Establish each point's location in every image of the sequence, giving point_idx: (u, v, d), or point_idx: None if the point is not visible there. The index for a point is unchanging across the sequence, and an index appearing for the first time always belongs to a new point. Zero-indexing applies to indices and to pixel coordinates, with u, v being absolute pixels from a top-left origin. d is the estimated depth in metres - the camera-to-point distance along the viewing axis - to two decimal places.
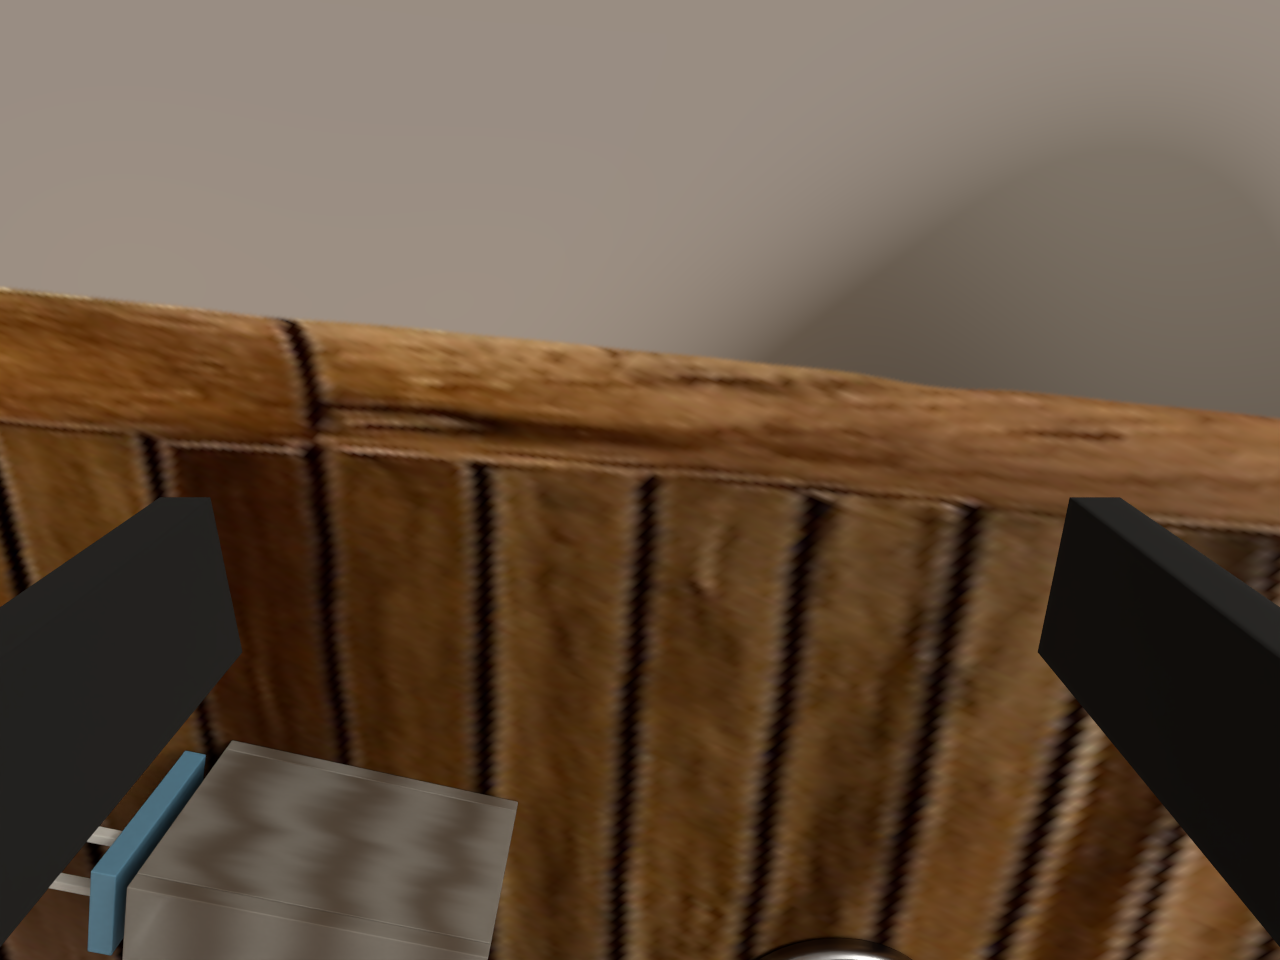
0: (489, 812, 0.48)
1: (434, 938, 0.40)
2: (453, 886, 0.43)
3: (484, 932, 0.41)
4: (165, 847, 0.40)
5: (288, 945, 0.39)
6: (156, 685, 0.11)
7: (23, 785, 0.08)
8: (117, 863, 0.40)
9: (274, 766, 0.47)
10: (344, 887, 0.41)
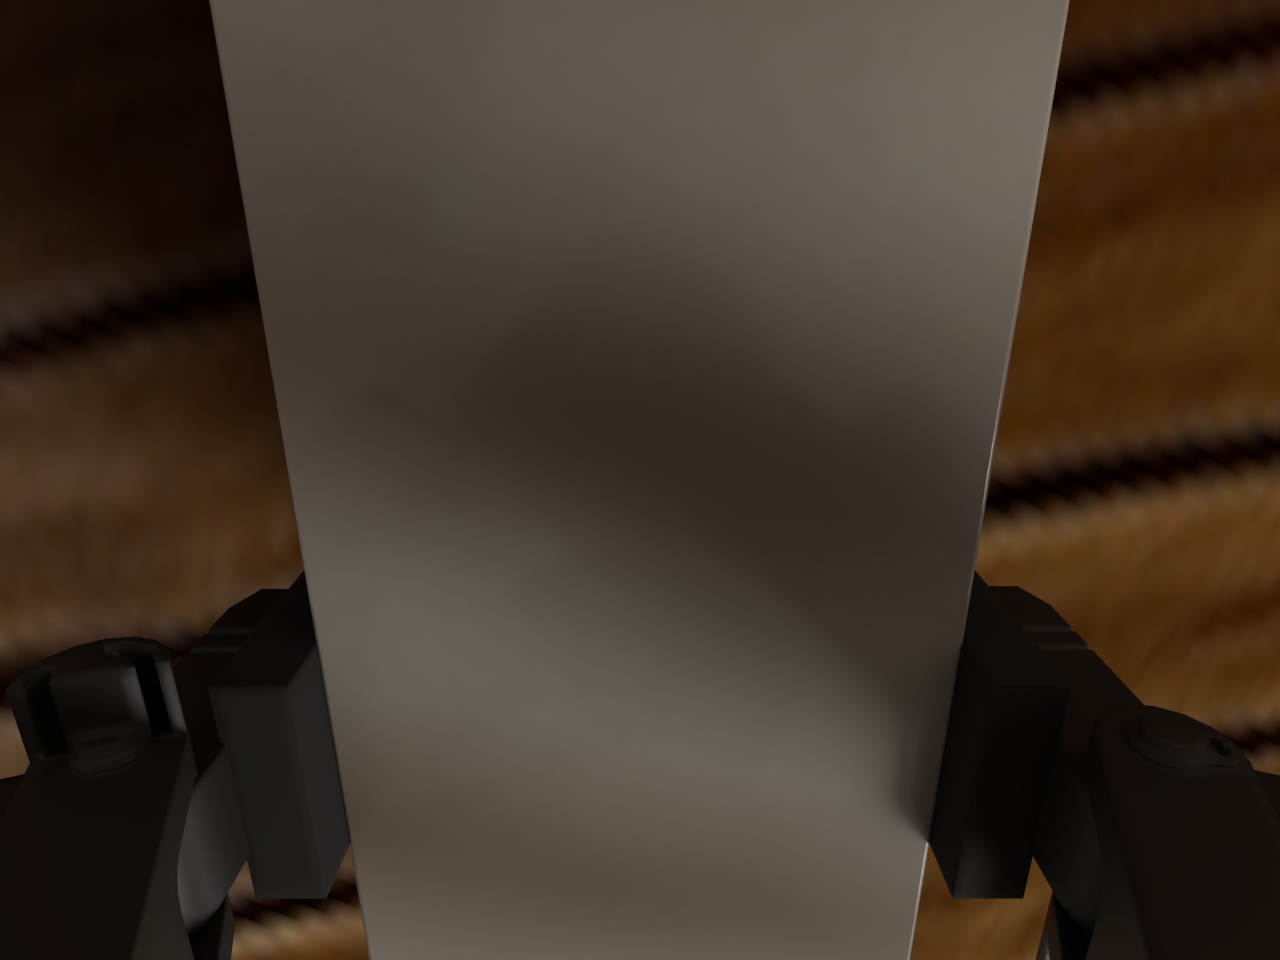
0: None
1: None
2: None
3: None
4: None
5: (828, 280, 0.07)
6: None
7: None
8: None
9: None
10: None
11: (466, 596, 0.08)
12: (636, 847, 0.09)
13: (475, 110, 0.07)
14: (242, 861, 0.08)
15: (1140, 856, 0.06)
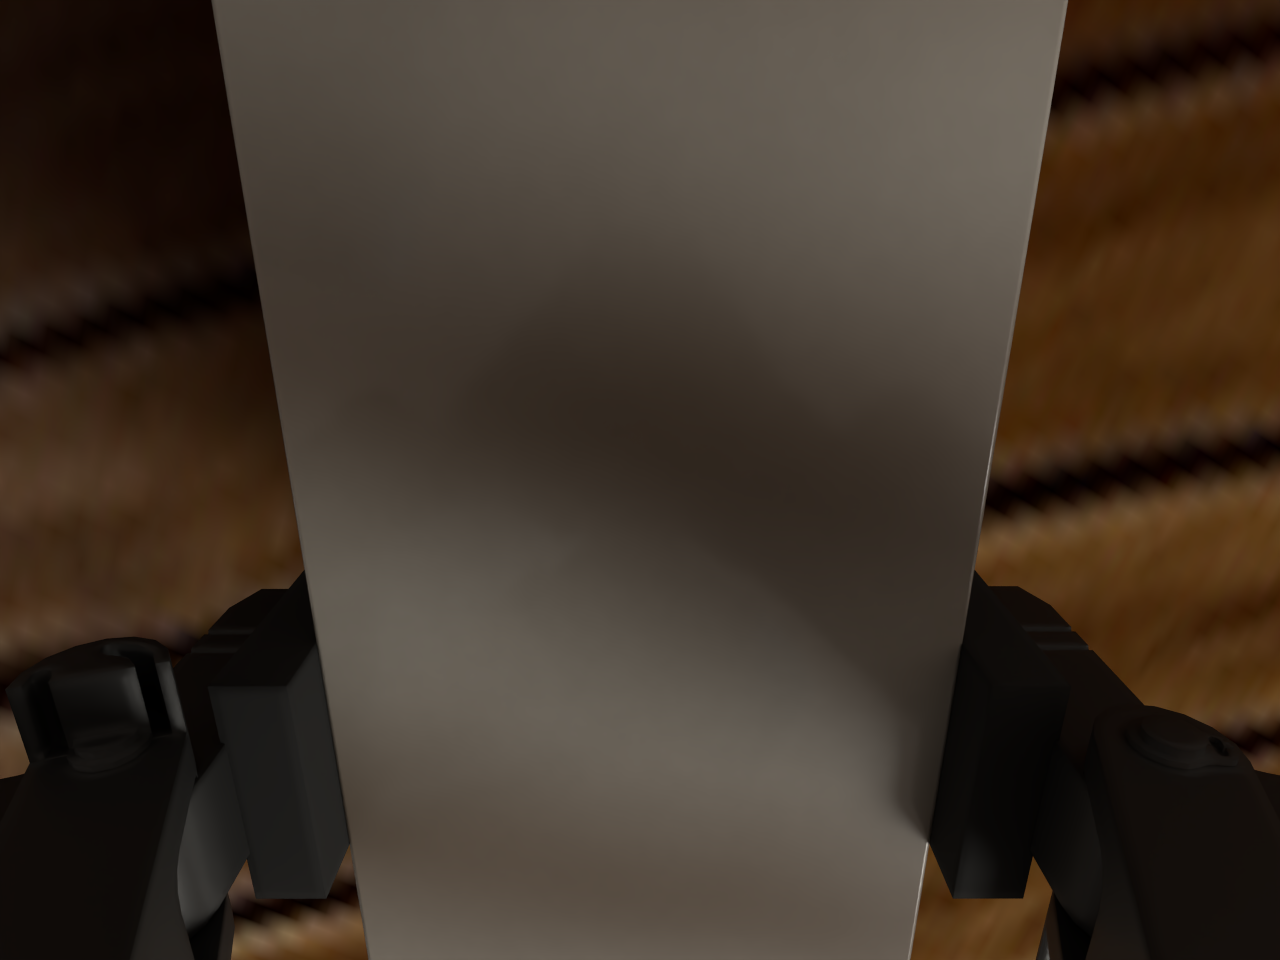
0: None
1: None
2: None
3: None
4: None
5: (828, 279, 0.07)
6: None
7: None
8: None
9: None
10: None
11: (466, 595, 0.08)
12: (636, 847, 0.09)
13: (476, 110, 0.07)
14: (242, 861, 0.08)
15: (1140, 856, 0.06)
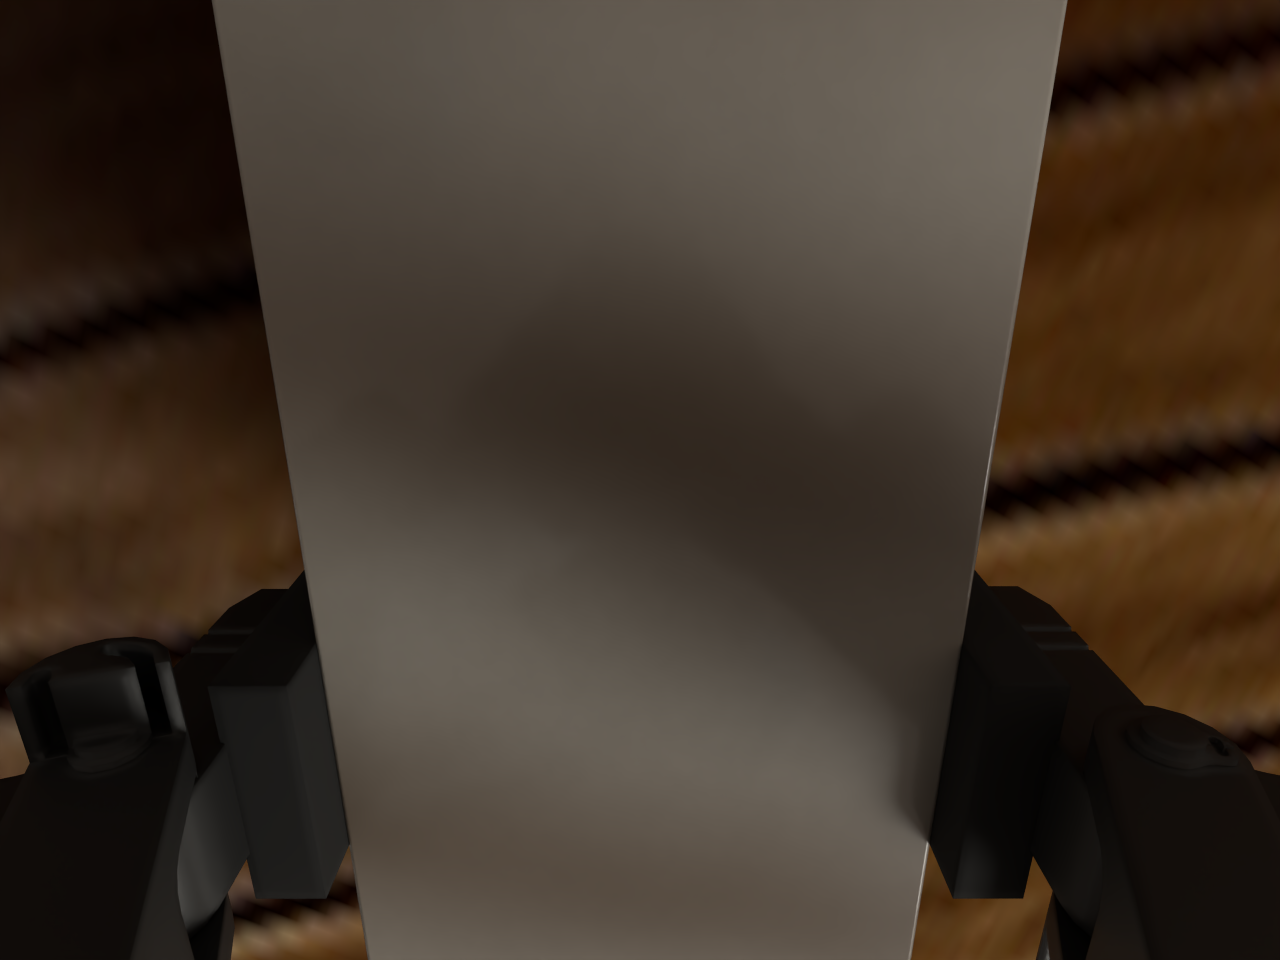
0: None
1: None
2: None
3: None
4: None
5: (828, 278, 0.07)
6: None
7: None
8: None
9: None
10: None
11: (466, 594, 0.08)
12: (636, 847, 0.09)
13: (476, 108, 0.07)
14: (242, 861, 0.08)
15: (1140, 856, 0.06)
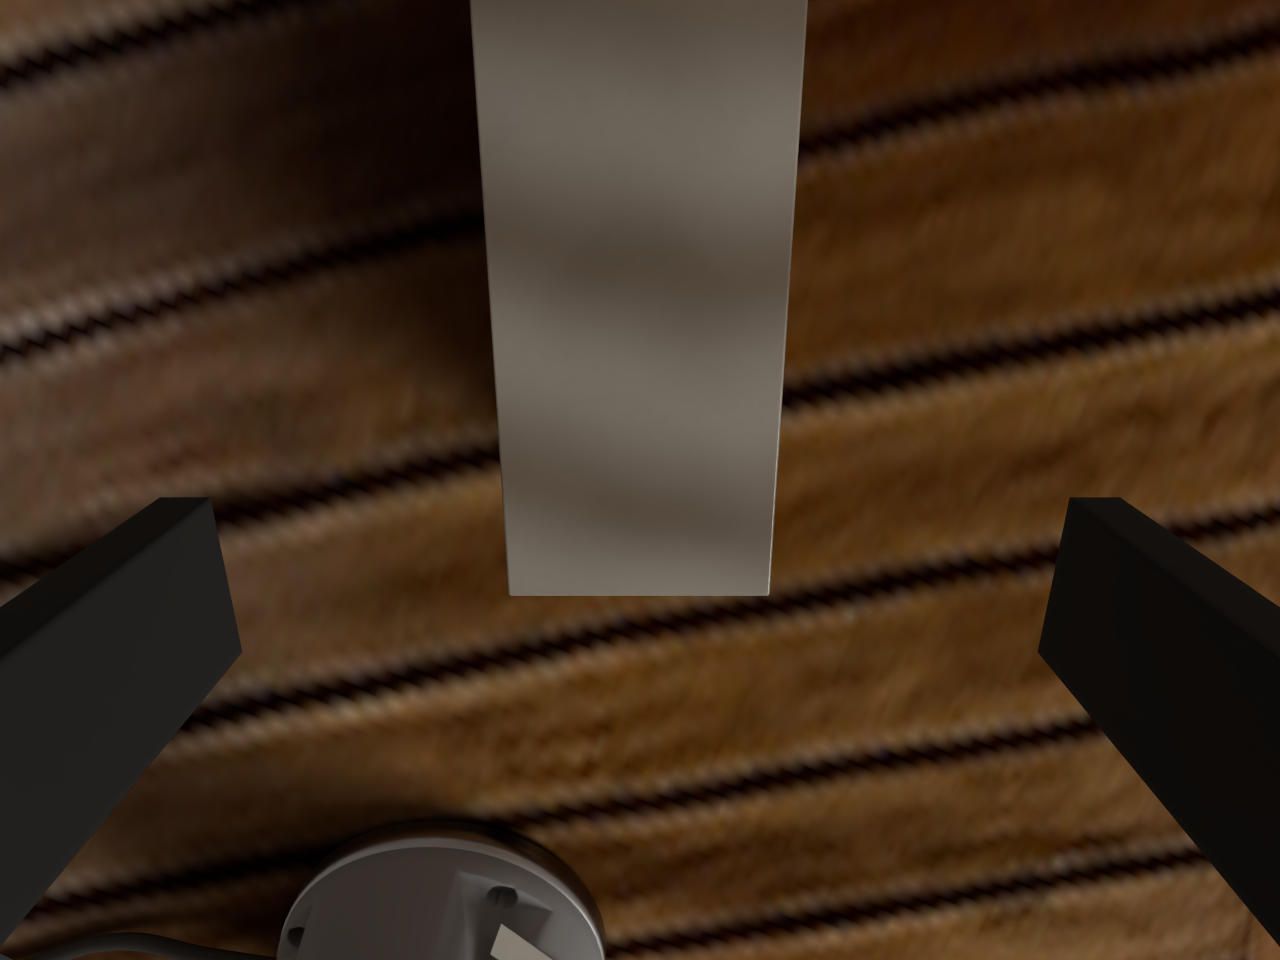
0: None
1: None
2: None
3: None
4: None
5: (715, 206, 0.17)
6: (156, 685, 0.11)
7: (23, 785, 0.08)
8: None
9: None
10: None
11: (562, 350, 0.19)
12: (637, 483, 0.20)
13: (575, 138, 0.17)
14: None
15: None
